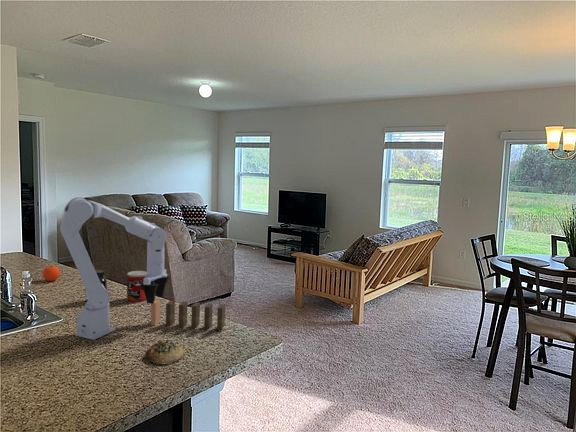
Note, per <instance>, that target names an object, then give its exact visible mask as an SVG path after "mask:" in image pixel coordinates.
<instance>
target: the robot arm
mask: <svg viewBox="0 0 576 432" xmlns="http://www.w3.org/2000/svg"><path fill="white" fill-rule="evenodd" d="M91 217H92V218H93V219H96V218H105V219H108V220H109V221H112V222H115V223H116V224H119V225H122V226H124V228H125V231H126V232H127V233H129V234H132V235H133V236H136V237H139V238H141V239H143V240H147V246H146V247H147V248H146V272H147V274H146V276H145V278H144V280H143V282H142V283H141V287H142V289H143V291H144V293H145V296H146V300H145V301H146V303H147V304H150V305H151V304H153V303H154V300H155V299H156V297H158V298H162V297H163V296H164V294H165V288H166V286H167V283H168V281H169V279H170V276H169V275H168V274H167V268H165V243H166V241H167V239H168V235H167V233H166V231H165V229H164V228H161V227H160V226H158V225H156V223H154V222H149V221H146V220H144V219H143V217H142V216H141V215H137V216H136V215H133V216H126V215H125V214H123V213H120V212H118V211H117V210H114V209H112V208H111V207H108V206H106V205H104V204H102V203H99V202H96V201H93V200H89V199H88V200H87V199H85V198H84V197H82V196H81V197H80V196H79V197H78V196H77V197H73V198H72V199H70V200H69V202H68V203H67V204H66V205H65V207H64V210H63V215H62V219H61V223H60V228H59V229H60V233H61V235H62V237H63V239H64V240H63V241H64V242H65V244H66V247H67V249H68V251H69V253H70V256H71V258H72V261H73V262H74V264H75V267H76V269H77V272H78V273H79V275H80V278H81V279H82V280H81V281H82V283H83V286H84V296H85V298H86V299H87V301H86V302H85V304H84V308H83V309H82V310H81V311H79V312H78V314H77V316H76V333H74V335H75V336H76V337H79V338H85V339H87V340H91V341H94V340H96V339H98V338H101V337H103V336H106V335H107V334H109V333H112V332H114V331H116V328H114V327H110V300H111V294H110V292H109V291H108V290H107V291H106V289H105V287H104V285H103V284H101V282H100V280H99V278H98V276H97V274H96V271H95V270H96V269H95V266H94V265H93V262H92V260H91V258H90V255H89V253H88V250H87V249H86V246H85V244H84V241H83V239H82V236H81V235H80V231H81V228H82V227H83V225H84V223H86V221H88V220H89V219H90V218H91Z"/></svg>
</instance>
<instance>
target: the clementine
mask: <svg viewBox="0 0 576 432" xmlns="http://www.w3.org/2000/svg"><path fill="white" fill-rule="evenodd" d="M42 271H43V272H42V277H43V279H44V280H46V281H48V282H53V281H56V280H58V279H59V278H60V276H61V275H60V274H61V270H60V269H59V268H58V267H57V266H56V265H47V266H46V267H45V268H44V269H43V270H42Z"/></svg>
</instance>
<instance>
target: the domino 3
mask: <svg viewBox="0 0 576 432" xmlns="http://www.w3.org/2000/svg"><path fill="white" fill-rule="evenodd" d="M186 325H188V301H183V300H182V302H180V304H179V305H178V328H179V327H184V326H185V327H186ZM185 327H184V328H185Z"/></svg>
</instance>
